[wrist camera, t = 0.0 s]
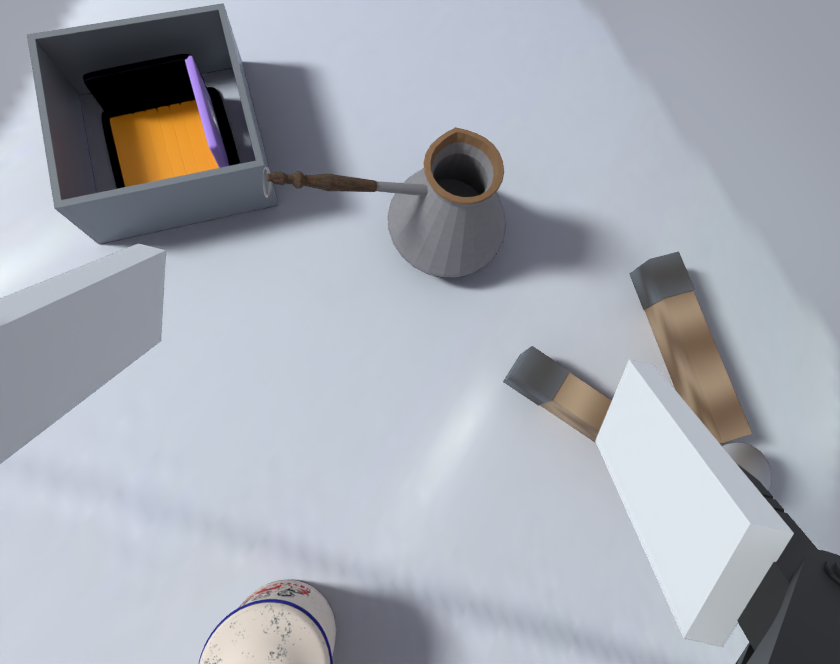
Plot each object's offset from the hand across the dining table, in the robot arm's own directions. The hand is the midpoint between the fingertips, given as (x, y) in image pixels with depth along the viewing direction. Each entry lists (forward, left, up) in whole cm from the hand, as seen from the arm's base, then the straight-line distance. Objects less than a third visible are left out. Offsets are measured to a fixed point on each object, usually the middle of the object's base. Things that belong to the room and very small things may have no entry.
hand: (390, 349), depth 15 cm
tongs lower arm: (-3, -30, -36) cm, 47 cm away
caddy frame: (+33, +12, -36) cm, 50 cm away
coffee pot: (+18, -7, -36) cm, 41 cm away
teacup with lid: (-14, +13, -36) cm, 41 cm away
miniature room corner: (+33, +12, -36) cm, 50 cm away
